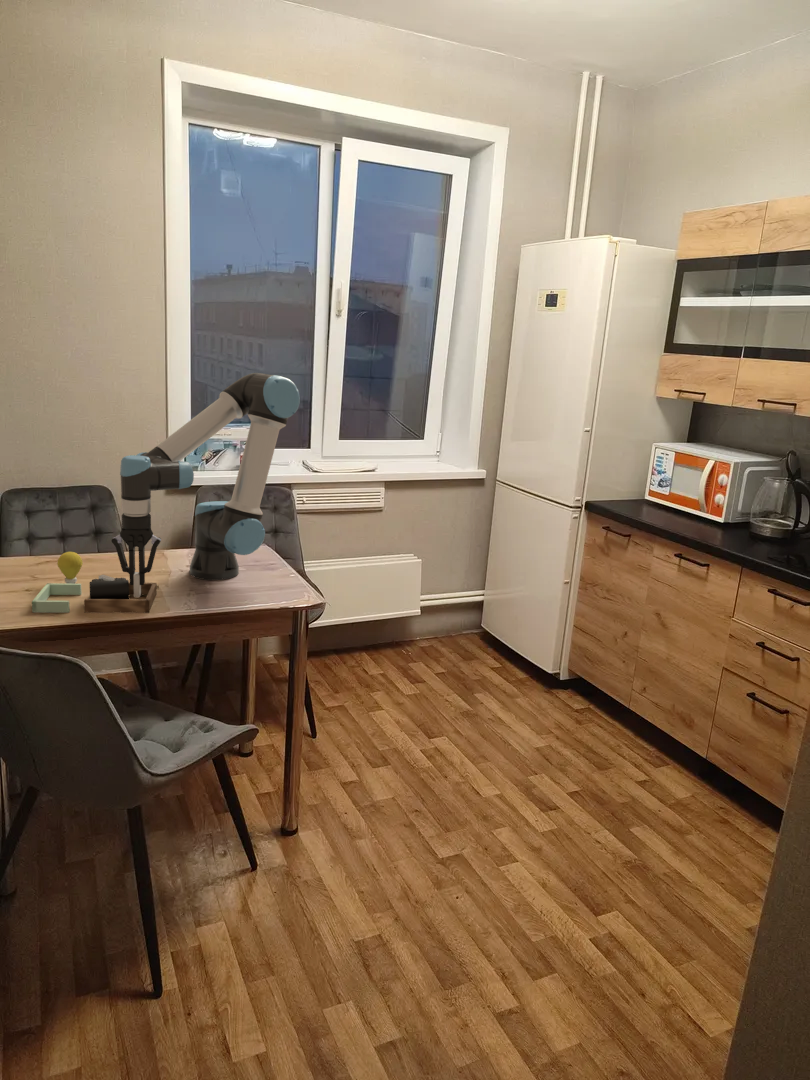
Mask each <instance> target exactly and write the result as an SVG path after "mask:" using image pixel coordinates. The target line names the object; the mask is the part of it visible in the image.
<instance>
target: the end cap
mask: <svg viewBox="0 0 810 1080" xmlns="http://www.w3.org/2000/svg"><path fill="white" fill-rule="evenodd" d="M114 578H115V580H114V581H104V580H103V579H99V578H94V579H92V580H91V581H89V599H130V595H129V582H130V580H128V579H127V578H126V577H114Z"/></svg>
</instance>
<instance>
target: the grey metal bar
mask: <svg viewBox="0 0 810 1080" xmlns="http://www.w3.org/2000/svg"><path fill="white" fill-rule="evenodd" d="M115 578H116V577H113V576H109V575H106V574H101V575H98V579H103V580H104V581H114V580H115Z"/></svg>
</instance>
